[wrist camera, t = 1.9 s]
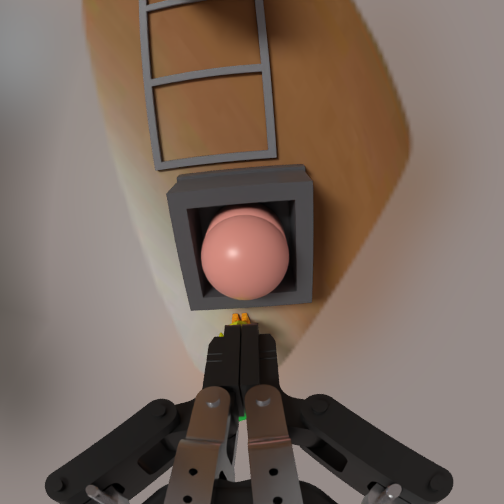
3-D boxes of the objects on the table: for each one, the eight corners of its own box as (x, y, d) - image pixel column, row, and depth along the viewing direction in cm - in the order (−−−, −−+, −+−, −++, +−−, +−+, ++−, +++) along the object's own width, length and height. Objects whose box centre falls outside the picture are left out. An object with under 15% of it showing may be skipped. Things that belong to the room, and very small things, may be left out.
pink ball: (201, 204, 22) (186, 238, 17) (282, 198, 22) (293, 229, 16) (212, 273, 25) (203, 320, 19) (285, 268, 25) (294, 314, 19)
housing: (179, 174, 23) (162, 191, 19) (302, 164, 23) (315, 177, 19) (197, 279, 28) (189, 312, 23) (304, 271, 28) (314, 304, 23)
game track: (140, -49, 13) (139, -51, 13) (253, -68, 13) (254, -70, 13) (156, 169, 23) (155, 170, 23) (276, 156, 23) (276, 157, 23)
